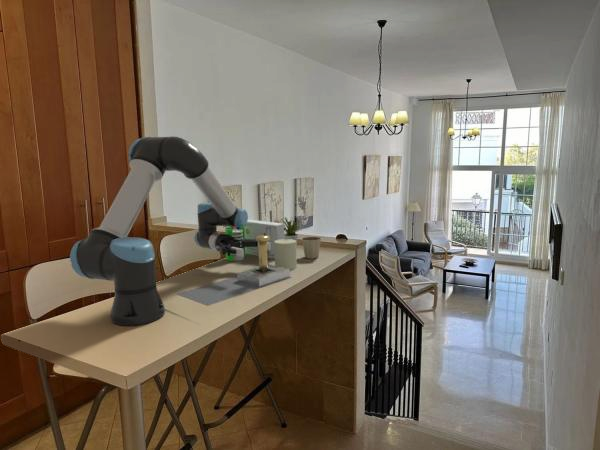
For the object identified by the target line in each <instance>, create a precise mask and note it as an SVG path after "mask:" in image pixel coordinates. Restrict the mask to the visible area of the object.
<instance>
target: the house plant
mask: <svg viewBox="0 0 600 450" xmlns="http://www.w3.org/2000/svg"><path fill="white" fill-rule="evenodd" d="M292 217H293V215H291V217H290V218H292ZM283 218H284V220H283V219H282V218H281V217H279V220H280V223H282V224H284V239H293V240H296V247H297V245H298V238H299V234H298V233H296V232H299V230H300V229H301V227H302V225H301V226H300V225H298V223H300V221H301V220H302V219H303V217H301V218H299V220H296V218H295V217H293V219H290V221H289V220H288V218H287V217H286V216H284V217H283Z"/></svg>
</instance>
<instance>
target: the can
mask: <svg viewBox="0 0 600 450" xmlns="http://www.w3.org/2000/svg"><path fill="white" fill-rule="evenodd" d="M274 247H275V259H274V266H278V267H282V268H287V269H290V271H291V270H295V269H297V267H298V264H297V263H298V262H297V246H296V240H293V239H285V238H284V239H279V240H275V241H274Z"/></svg>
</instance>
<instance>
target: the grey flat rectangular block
mask: <svg viewBox="0 0 600 450" xmlns="http://www.w3.org/2000/svg"><path fill="white" fill-rule="evenodd" d="M236 276H237V280H238V281H240V282H243V283H247V284H250V285H254V286H257V287H261V286H264V285H267V284H270V283H273V282H276V281H279V280H282V279H285V278H288V277H291V270H290V269H287V268H282V267H278V266H275V264H274V265H273V264H269V263H268V272H265V273H262V272H260V271H259V266H257V267H254V268H251V269H247V270H244V271H240V272H237V274H236Z"/></svg>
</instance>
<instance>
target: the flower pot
mask: <svg viewBox="0 0 600 450" xmlns="http://www.w3.org/2000/svg"><path fill="white" fill-rule="evenodd" d="M300 240H301V243H302V247H303V253H304V258H306V259H309V258H310V259H315V258H316V259H317V258H319V255H320V254H319V253H320V246H321V242H322V237H319V236H304V237H301V238H300Z"/></svg>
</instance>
